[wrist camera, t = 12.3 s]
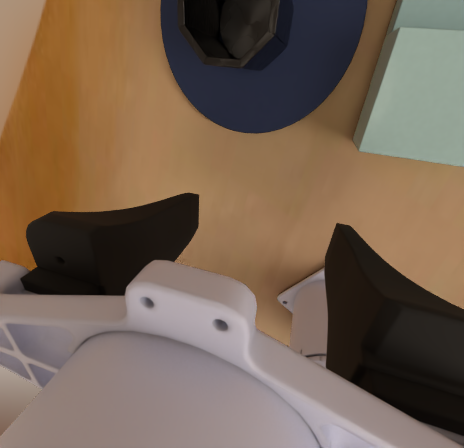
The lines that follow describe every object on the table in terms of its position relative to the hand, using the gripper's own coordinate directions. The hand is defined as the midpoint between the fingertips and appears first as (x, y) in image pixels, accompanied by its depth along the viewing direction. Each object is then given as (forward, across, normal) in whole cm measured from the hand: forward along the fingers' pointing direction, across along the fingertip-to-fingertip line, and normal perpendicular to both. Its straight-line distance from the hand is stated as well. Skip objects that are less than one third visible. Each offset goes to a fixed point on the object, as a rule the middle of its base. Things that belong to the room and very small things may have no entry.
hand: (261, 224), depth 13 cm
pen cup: (+10, +4, -10) cm, 14 cm away
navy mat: (+10, +4, -9) cm, 15 cm away
